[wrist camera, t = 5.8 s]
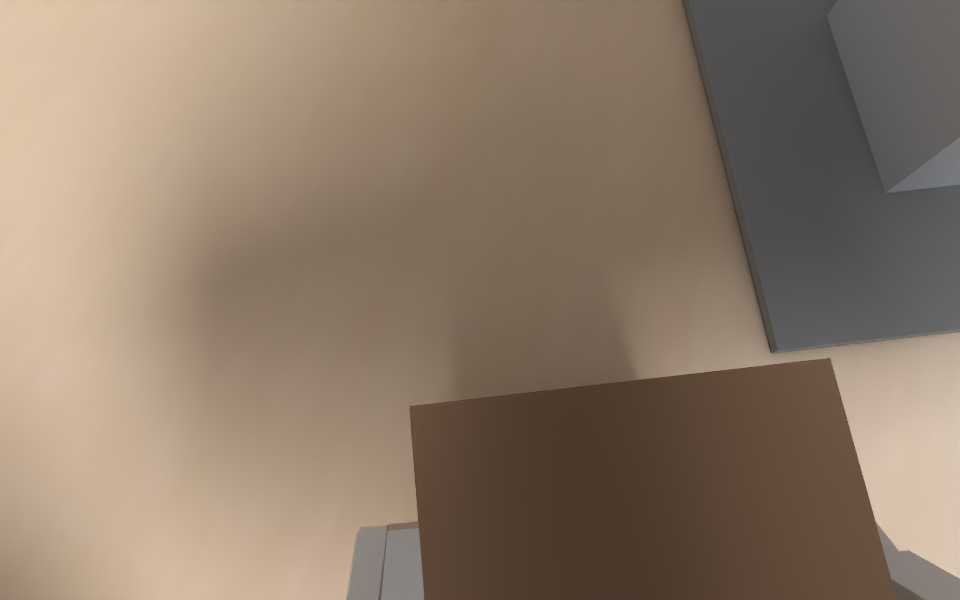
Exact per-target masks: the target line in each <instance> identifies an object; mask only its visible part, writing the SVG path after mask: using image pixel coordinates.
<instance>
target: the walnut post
mask: <svg viewBox="0 0 960 600" xmlns="http://www.w3.org/2000/svg"><path fill="white" fill-rule="evenodd" d="M410 419H411V432H412V445H413V458H414V471H415V484H416V497H417V510H418V523H419V536H420V549H421V562H422V575H423V588H424V600H897V598H896V594H895V590H894V587H893V583H892V580H891V576H890V572H889V569H888V565H887V562H886V558H885V554H884V551H883V547H882V544H881V540H880V536H879V533H878V529H877V526H876V522H875V518H874V515H873V511H872V507H871V504H870V500H869V497H868V493H867V489H866V486H865V482H864V479H863V475H862V471H861V468H860V464H859V461H858V457H857V453H856V450H855V446H854V443H853V439H852V435H851V432H850V428H849V425H848V421H847V417H846V414H845V410H844V407H843V403H842V399H841V396H840V392H839V389H838V385H837V381H836V378H835V374H834V371H833V367H832V363H831V360H830V358H826V359H818V360H809V361H800V362H792V363H783V364H774V365H765V366H757V367H748V368H739V369H731V370H722V371H713V372H704V373H696V374H687V375H678V376H670V377H661V378H652V379H644V380H635V381H626V382H617V383H609V384H600V385H591V386H583V387H574V388H565V389H556V390H548V391H539V392H530V393H522V394H513V395H504V396H495V397H487V398H478V399H469V400H461V401H452V402H443V403H434V404H426V405H417V406H410Z"/></svg>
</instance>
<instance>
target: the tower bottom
mask: <svg viewBox="0 0 960 600" xmlns="http://www.w3.org/2000/svg"><path fill="white" fill-rule="evenodd" d="M827 18H828V21H829V24H830V27H831V30H832V33H833V36H834V39H835V42H836V46H837V49H838V52H839V55H840V58H841V61H842V64H843V67H844V70H845V73H846V76H847V79H848V82H849V85H850V88H851V91H852V94H853V97H854V100H855V103H856V106H857V109H858V112H859V115H860V118H861V121H862V124H863V127H864V130H865V133H866V136H867V139H868V142H869V145H870V148H871V151H872V154H873V158H874V161H875V164H876V167H877V170H878V173H879V176H880V179H881V182H882V185H883V188H884V191H885V193H891V192H900V191H908V190H917V189H926V188H934V187H943V186H952V185H960V0H837V2H836V3H835V5H834V6H833V8H832V9H831V10H830V12H829V13H828V15H827Z"/></svg>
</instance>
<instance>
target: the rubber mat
mask: <svg viewBox="0 0 960 600" xmlns="http://www.w3.org/2000/svg"><path fill="white" fill-rule="evenodd" d="M836 2H837V0H683V3H684V7H685V11H686V15H687V19H688V23H689V27H690V31H691V35H692V39H693V43H694V47H695V51H696V55H697V59H698V63H699V67H700V71H701V75H702V79H703V83H704V87H705V91H706V95H707V99H708V102H709V106H710V110H711V114H712V118H713V122H714V126H715V130H716V134H717V138H718V142H719V146H720V150H721V154H722V158H723V162H724V166H725V170H726V174H727V178H728V182H729V186H730V190H731V194H732V198H733V202H734V206H735V210H736V214H737V218H738V222H739V226H740V230H741V234H742V238H743V242H744V246H745V250H746V254H747V258H748V262H749V266H750V270H751V274H752V278H753V282H754V286H755V290H756V294H757V298H758V302H759V306H760V310H761V314H762V318H763V321H764V325H765V329H766V333H767V337H768V341H769V345H770V349H771V353H778V352H787V351H796V350H804V349H813V348H822V347H830V346H839V345H848V344H856V343H865V342H874V341H882V340H891V339H900V338H908V337H917V336H926V335H934V334H943V333H952V332H960V185H952V186H943V187H934V188H926V189H917V190H908V191H900V192H891V193H885V191H884V188H883V185H882V182H881V179H880V176H879V173H878V170H877V167H876V164H875V161H874V158H873V154H872V151H871V148H870V145H869V142H868V139H867V136H866V133H865V130H864V127H863V124H862V121H861V118H860V115H859V112H858V109H857V106H856V103H855V100H854V97H853V94H852V91H851V88H850V85H849V82H848V79H847V76H846V73H845V70H844V67H843V64H842V61H841V58H840V55H839V52H838V49H837V46H836V42H835V39H834V36H833V33H832V30H831V27H830V24H829V21H828V18H827V15H828V13H829V12H830V10H831V9H832V8H833V6H834V5H835V3H836Z"/></svg>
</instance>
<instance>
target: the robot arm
mask: <svg viewBox="0 0 960 600" xmlns="http://www.w3.org/2000/svg"><path fill="white" fill-rule="evenodd" d="M875 522H876V521H875ZM876 526H877V529H878V533H879V536H880V540H881V544H882V547H883V551H884V554H885V558H886V562H887V565H888V569H889V572H890V576H891V580H892V583H893V587H894V590H895V594H896V598H897V600H960V579H959V578H957V577H955V576H954V575H952V574H950V573H948V572H946V571H945V570H943V569H941V568H939V567H938V566H936V565H934V564H932V563H930V562H929V561H927V560H925V559H923V558H921V557H920V556H918V555H916V554H914V553H913V552H911V551H909V550H908V551H899V550H898V549H897V548H896V546H895V545H894V544H893V543H892V541H891V540H890V539H889V538H888V536H887V535H886V534H885V533H884V531H883V530H882V529H881V528H880V526H879V525H878V524H877V523H876ZM346 600H424V588H423V575H422V562H421V549H420V536H419V523H418V522H409V523H397V524H389V525H380V526H369V527H360V528H359V531H358V533H357V535H356V540H355V546H354V553H353V559H352V566H351V573H350V579H349V586H348V592H347V599H346Z"/></svg>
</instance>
